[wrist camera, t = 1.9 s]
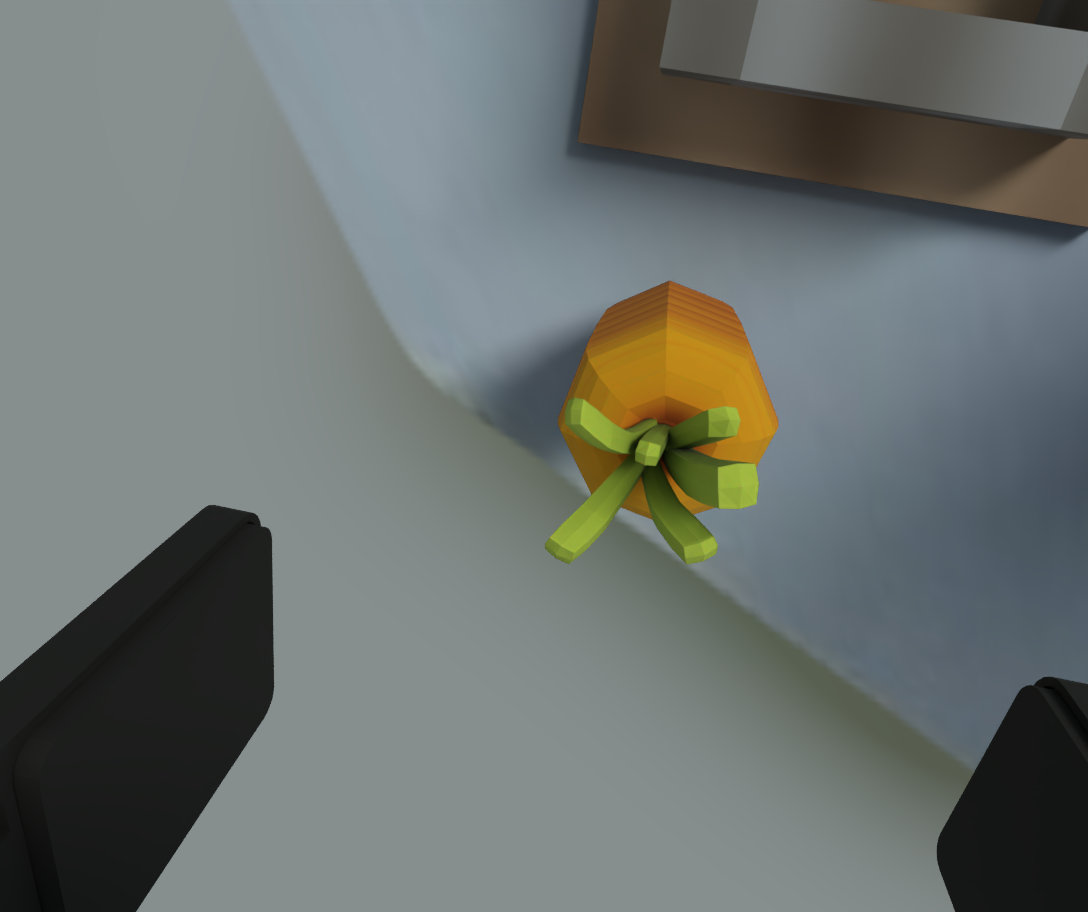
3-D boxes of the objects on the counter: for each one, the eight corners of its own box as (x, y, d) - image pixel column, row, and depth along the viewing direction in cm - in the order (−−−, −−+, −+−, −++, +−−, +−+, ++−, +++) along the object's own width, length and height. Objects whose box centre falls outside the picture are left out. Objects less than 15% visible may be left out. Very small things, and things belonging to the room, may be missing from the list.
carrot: (600, 381, 27) (524, 641, 14) (597, 242, 25) (505, 390, 12) (739, 381, 26) (801, 659, 13) (748, 238, 24) (832, 391, 11)
